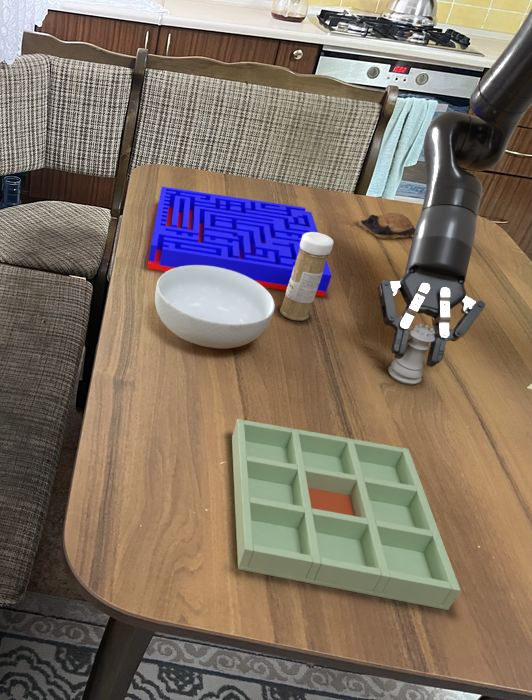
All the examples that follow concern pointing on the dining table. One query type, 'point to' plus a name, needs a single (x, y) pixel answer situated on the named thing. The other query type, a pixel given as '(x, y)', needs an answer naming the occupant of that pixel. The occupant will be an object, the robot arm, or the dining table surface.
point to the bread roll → (389, 226)
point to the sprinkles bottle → (306, 275)
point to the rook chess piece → (412, 356)
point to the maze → (231, 236)
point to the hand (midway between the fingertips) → (415, 360)
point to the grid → (337, 515)
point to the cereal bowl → (213, 306)
